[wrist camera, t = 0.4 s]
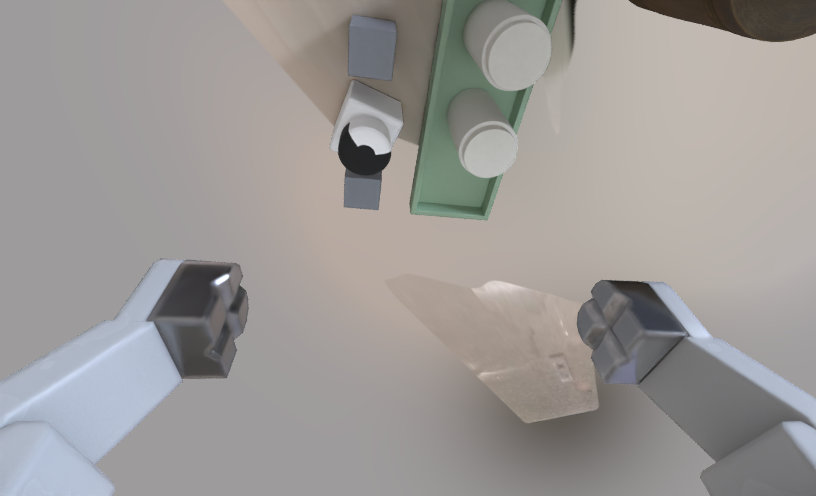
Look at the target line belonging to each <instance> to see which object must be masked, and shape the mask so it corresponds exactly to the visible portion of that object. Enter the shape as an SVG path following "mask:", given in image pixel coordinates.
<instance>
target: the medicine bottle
mask: <svg viewBox="0 0 816 496" xmlns="http://www.w3.org/2000/svg"><path fill="white" fill-rule="evenodd" d="M403 124H404V121H403V112H402V104H401V102H399V101H397V100H395V99H393V98H391V97H389V96H387V95H385V94H383V93H381V92H378V91H376V90H374V89H372V88H370V87H368V86H366V85H364V84H362V83H360V82H358V81H356V80H352V81H351V84H350V87H349V89H348V92H347V94H346V97H345V100H344V102H343V105H342V108H341V110H340V113H339V115H338V118H337V121H336V123H335V126H334V130H333V135H332V138H331V143H330V149H331V150H333V151H335V152H337V153H338V155H339V158H340V160H341V162H342V164H343V165H344V166H345V167H346V168H347V169H348V170H349V171H351V172H353V173H355V174H358V175H363V176H369V175H374V174H377V173H379V172H380V171H382V170H383V169H384V168H385V167H386V166H387V164H388V163H389V161H390V158H391V149H392V147H393V144H394V142H395V141H396V139H397V137H398V135H399V133H400V131H401V129H402V127H403Z"/></svg>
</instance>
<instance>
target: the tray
mask: <svg viewBox="0 0 816 496" xmlns="http://www.w3.org/2000/svg"><path fill="white" fill-rule="evenodd" d="M482 1H484V0H443V4H442V10H441V16H440V22H439V28H438V34H437V40H436V46H435V52H434V58H433V64H432V70H431V77H430V83H429V89H428V95H427V101H426V107H425V113H424V119H423V125H422V131H421V137H420V143H419V149H418V155H417V161H416V167H415V173H414V179H413V185H412V192H411V197H410V213H411V214H415V215H429V216H440V217H453V218H464V219H477V220H488V218H489V215H490V212H491V209H492V206H493V203H494V200H495V197H496V194H497V191H498V188H499V185H500V182H501V179H502V176H503V173H502V174H500V175H498V176H495V177H492V178H481V177H477V176H475V175H473V174H472V173H470V172H468V171H467V170H466V169H465V168H464V167H463V166H462V164H461V162H460V159H459V156H458V153H457V150H456V147H455V144H454V141H453V138H452V135H451V132H450V129H449V126H448V123H447V118H446V114H447V109H448V106H449V104H450V102H451V101H452V99H453V98H454V97H455V96H456V95H457V94H458V93H460V92H462V91H464V90H466V89H470V88H478V89H482V90H484V91H486V92H488V93H489V94H490V95H491V96H492V98H493V99H494V101H495V102H496V104H497V105H498V107H499V108H500V110H501V112H502V113H503V115H504V116H505V118H506V119H507V121H508V122H509V124H510V125H511V127H512V128H513V130H514V132H515V133H516V135H517V132H518V129H519V126H520V123H521V120H522V117H523V114H524V111H525V108H526V105H527V102H528V100H529V96H530V94H531V91H532V88H533V85H534V84H532V85H531V86H529V87H527V88H525V89H522V90H518V91H504V90H500V89H498V88H496V87H494V86H493V85H491V84H490V83H489V82H488V80H487V79H486V77H485V76H484V74H483V73H482V71H481V70H480V69H479V67H478V66H477V64H476V63H475V61H474V60H473V58H472V57H471V55H470V54H469V53H468V51H467V49H466V47H465V44H464V40H463V30H464V25H465V22H466V19H467V17H468V15H469V14H470V12H471V11H472V10H473V8H474V7H475V6H476V5H478V4H479V3H480V2H482ZM507 1H509V2H511V3H513V4H514V5H516V6H518V7H519V8H521V9H523V10H524V11H526V12H528V13H530V14H531V15H533V16H535V17H536V18H538V19H540V20H541V21H542V22H543V23H544V24H545V25H546V27H547V29H548V30H549V33H550V35H551V32H552V29H553V26H554V23H555V20H556V17H557V14H558V11H559V8H560V5H561V2H562V0H507Z"/></svg>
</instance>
